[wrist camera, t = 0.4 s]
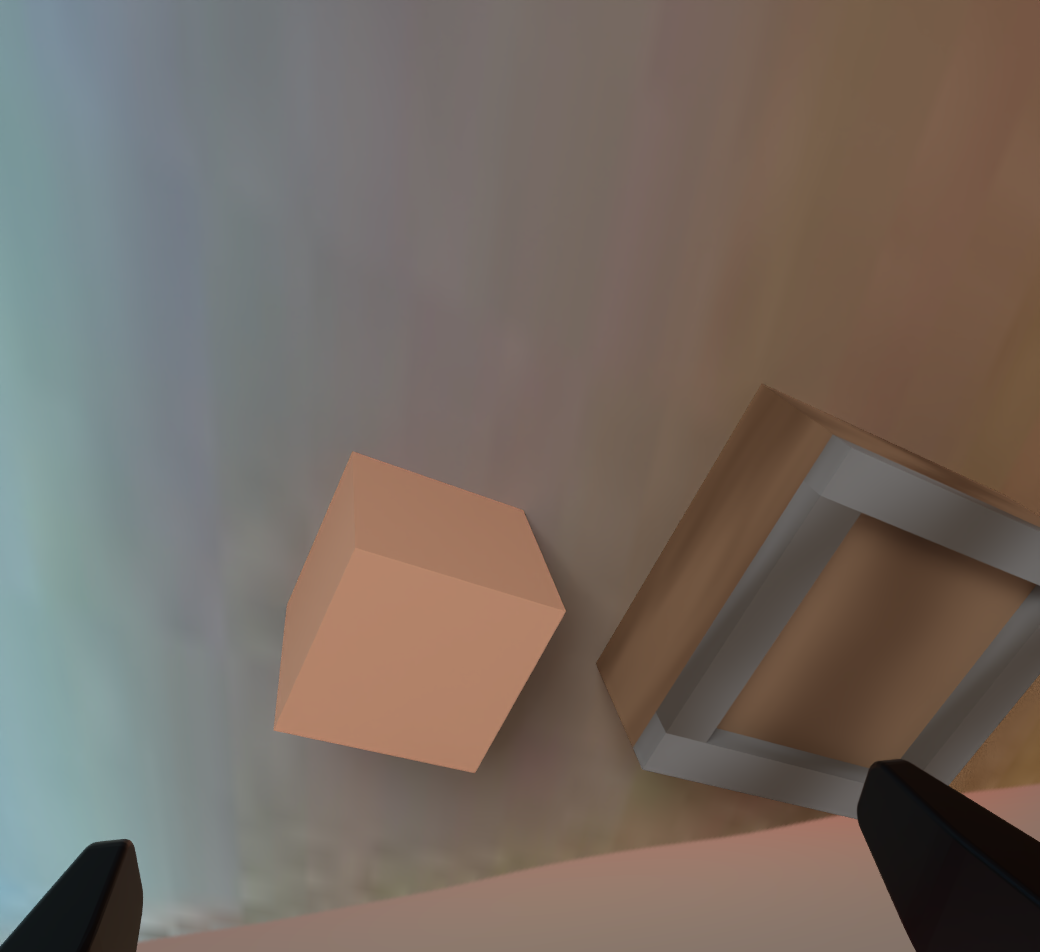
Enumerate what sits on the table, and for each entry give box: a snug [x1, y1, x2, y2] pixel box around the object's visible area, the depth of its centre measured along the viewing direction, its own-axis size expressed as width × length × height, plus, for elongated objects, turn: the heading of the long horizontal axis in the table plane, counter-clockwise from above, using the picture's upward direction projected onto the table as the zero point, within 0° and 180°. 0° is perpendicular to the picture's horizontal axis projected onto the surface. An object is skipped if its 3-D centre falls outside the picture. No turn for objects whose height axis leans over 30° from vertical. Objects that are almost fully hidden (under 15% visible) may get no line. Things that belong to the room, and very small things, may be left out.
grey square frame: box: [596, 384, 1040, 819], centre depth 24 cm, size 10×10×5 cm
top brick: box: [274, 451, 566, 773], centre depth 20 cm, size 5×5×5 cm
